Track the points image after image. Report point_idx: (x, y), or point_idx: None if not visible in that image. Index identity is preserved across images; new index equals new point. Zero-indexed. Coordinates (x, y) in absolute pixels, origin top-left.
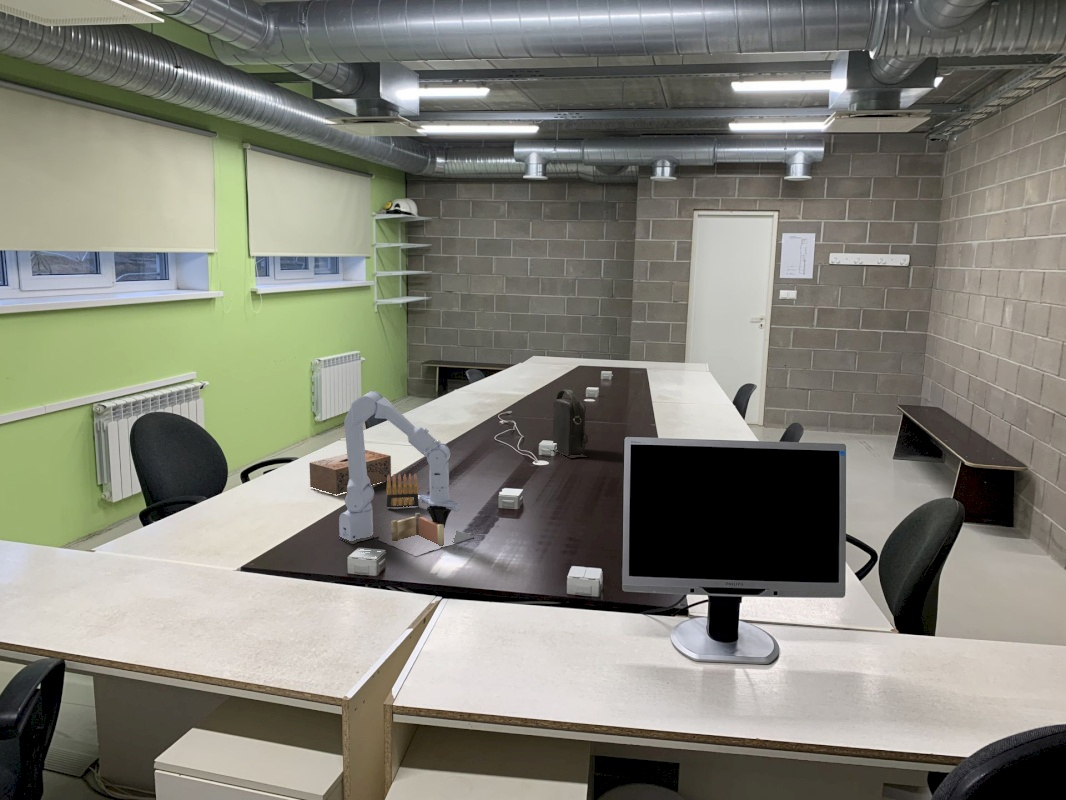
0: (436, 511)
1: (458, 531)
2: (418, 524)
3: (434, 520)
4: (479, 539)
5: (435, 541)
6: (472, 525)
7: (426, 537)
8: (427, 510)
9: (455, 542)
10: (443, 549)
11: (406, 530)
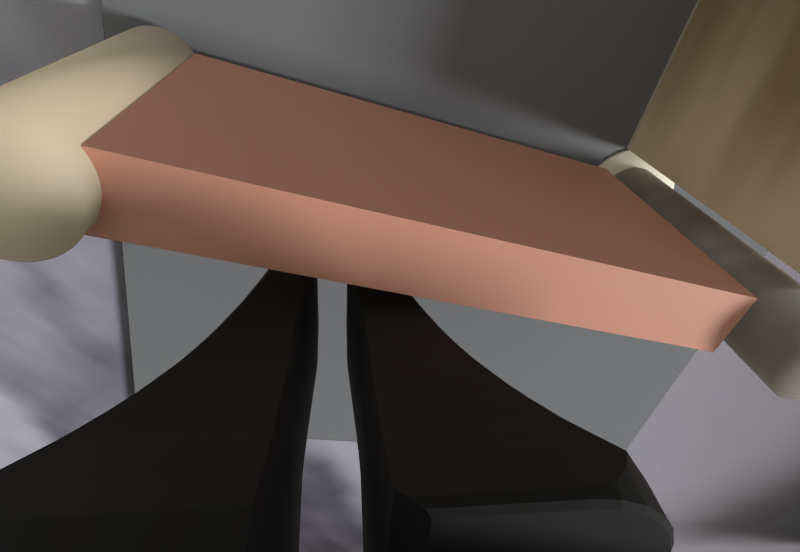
0: (127, 509)
1: (342, 437)
2: (680, 233)
3: (367, 321)
4: (77, 425)
5: (247, 74)
6: (358, 540)
7: (457, 131)
8: (603, 446)
9: (137, 255)
10: (61, 8)
11: (791, 11)
